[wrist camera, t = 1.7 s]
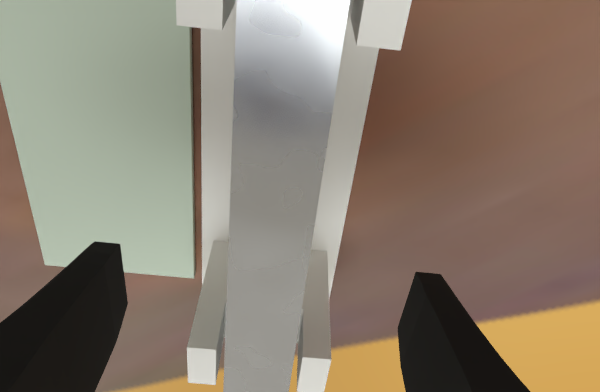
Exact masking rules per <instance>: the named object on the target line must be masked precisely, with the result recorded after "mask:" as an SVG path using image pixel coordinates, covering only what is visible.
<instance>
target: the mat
mask: <svg viewBox="0 0 600 392" xmlns="http://www.w3.org/2000/svg"><path fill="white" fill-rule="evenodd" d="M0 83H1V87H2V91H3V95H4V99H5V103H6V107H7V111H8V115H9V119H10V124H11V128H12V132H13V136H14V140H15V144H16V148H17V152H18V156H19V160H20V165H21V169H22V173H23V177H24V181H25V185H26V189H27V193H28V197H29V201H30V205H31V210H32V214H33V218H34V222H35V226H36V230H37V234H38V238H39V242H40V246H41V250H42V255H43V259H44V263H45V265H51V266H62V267H67V266H68V265H69V264H70V263H71V262H72V261H73V260H74V259H75V258H76V257H77V256H78V255H80V254H81V253H82V252H83V251H84V250H85V249H86V248H87V247H88V246H89V245H91V244H92V243H93V242H94V241H96V242H106V243H117V244H120V246H121V254H122V262H123V270H124V272H128V273H139V274H150V275H161V276H172V277H183V278H194V276H195V209H194V143H193V78H192V27H187V26H178V25H177V19H176V0H0Z"/></svg>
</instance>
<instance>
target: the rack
mask: <svg viewBox="0 0 600 392" xmlns="http://www.w3.org/2000/svg"><path fill="white" fill-rule="evenodd" d="M411 1H412V0H350V4H349V10H348V16H347V23H346V29H345V36H344V42H343V48H342V55H341V61H340V67H339V74H338V80H337V87H336V93H335V99H334V106H333V112H332V118H331V125H330V131H329V137H328V144H327V150H326V157H325V163H324V169H323V176H322V182H321V188H320V195H319V201H318V208H317V214H316V220H315V227H314V233H313V239H312V246H311V252H310V258H309V265H308V271H307V278H306V284H305V290H304V297H303V303H302V309H301V316H300V322H299V329H298V335H297V341H296V343H298V368H297V391H298V392H324V390H325V385H326V381H327V376H328V372H329V367H330V362H331V339H330V312H329V298H330V293H331V288H332V283H333V278H334V273H335V268H336V262H337V257H338V252H339V247H340V242H341V237H342V232H343V227H344V222H345V217H346V212H347V207H348V202H349V197H350V192H351V187H352V182H353V177H354V172H355V167H356V162H357V157H358V152H359V147H360V142H361V137H362V132H363V127H364V122H365V117H366V112H367V107H368V102H369V97H370V92H371V87H372V82H373V77H374V72H375V66H376V61H377V56H378V51H379V48H382V49H391V50H400V51H401V46H402V42H403V37H404V33H405V28H406V24H407V19H408V15H409V10H410V6H411ZM236 10H237V0H176V19H177V25H178V26H187V27H196V28H201V158H202V289H201V293H200V297H199V301H198V305H197V309H196V313H195V317H194V321H193V325H192V329H191V333H190V337H189V341H188V345H187V362H188V382H189V383H200V384H212V385H216V379H217V374H218V368H219V362H220V357H221V351H222V345H223V340H224V337H225V332H226V303H227V274H228V244H229V215H230V186H231V156H232V127H233V98H234V68H235V39H236Z"/></svg>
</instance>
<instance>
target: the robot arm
mask: <svg viewBox="0 0 600 392" xmlns="http://www.w3.org/2000/svg"><path fill="white" fill-rule="evenodd" d="M127 304H128V302H127V294H126V286H125V278H124V270H123V262H122V254H121V246H120V244H117V243H106V242H96V241H94V242H93V243H92V244H91V245H89V246H88V247H87V248H86V249H85V250H84V251H83V252H82V253H81V254H80V255H78V256H77V257H76V258H75V259H74V260H73V261H72V262H71V263H70V264H69V265H68V266H67V267H65V268H64V269H63V270H62V271H61V272H60V273H59V274H58V275H57V276H56V277H54V278H53V279H52V280H51V281H50V282H49V283H48V284H46V285H45V286H44V287H43V288H42V289H41V290H40V291H38V292H37V293H36V294H35V295H34V296H33V297H31V298H30V299H29V300H28V301H27V302H26V303H24V304H23V305H22V306H21V307H20V308H18V309H17V310H16V311H15V312H13V313H12V314H11V315H10V316H8V317H7V318H6V319H5V320H3V321H2V322H1V323H0V392H95V390H96V387H97V385H98V383H99V381H100V378H101V376H102V374H103V372H104V369H105V367H106V365H107V362H108V360H109V358H110V355H111V353H112V351H113V348H114V346H115V344H116V341H117V338H118V335H119V331H120V328H121V325H122V321H123V318H124V314H125V311H126V307H127ZM398 338H399V351H400V362H401V369H402V375H403V380H404V385H405V390H406V392H530V391H529V390H528V389H527V387H526V386H525V385H524V384H523V383H522V382H521V381H520V379H519V378H518V377H517V376H516V375H515V374H514V372H513V371H512V370H511V369H510V368H509V366H508V365H507V364H506V363H505V362H504V360H503V359H502V358H501V357H500V356H499V354H498V353H497V352H496V351H495V349H494V348H493V346H492V345H491V344H490V343H489V341H488V340H487V338H486V337H485V336H484V335H483V333H482V332H481V331H480V329H479V328H478V327H477V325H476V324H475V322H474V321H473V320H472V318H471V317H470V316H469V314H468V313H467V311H466V310H465V308H464V307H463V306H462V304H461V303H460V301H459V300H458V298H457V297H456V296H455V294H454V293H453V291H452V290H451V288H450V287H449V286H448V284H447V283H446V281H445V280H444V278H443V277H442V276H441V274H433V273H422V272H416V273H415V276H414V279H413V282H412V285H411V288H410V292H409V295H408V298H407V301H406V304H405V307H404V310H403V313H402V316H401V319H400V322H399V326H398Z"/></svg>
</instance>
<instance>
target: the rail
mask: <svg viewBox="0 0 600 392" xmlns="http://www.w3.org/2000/svg"><path fill="white" fill-rule="evenodd" d="M349 4H350V0H237V10H236V39H235V68H234V98H233V127H232V156H231V186H230V215H229V244H228V274H227V303H226V332H225V362H224V391H223V392H289V386H290V379H291V373H292V366H293V360H294V354H295V348H296V341H297V335H298V329H299V322H300V316H301V309H302V303H303V297H304V290H305V284H306V278H307V271H308V265H309V258H310V252H311V246H312V239H313V233H314V227H315V220H316V214H317V208H318V201H319V195H320V188H321V182H322V176H323V169H324V163H325V157H326V150H327V144H328V137H329V131H330V125H331V118H332V112H333V106H334V99H335V93H336V87H337V80H338V74H339V67H340V61H341V55H342V48H343V42H344V36H345V29H346V23H347V16H348V10H349Z"/></svg>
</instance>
